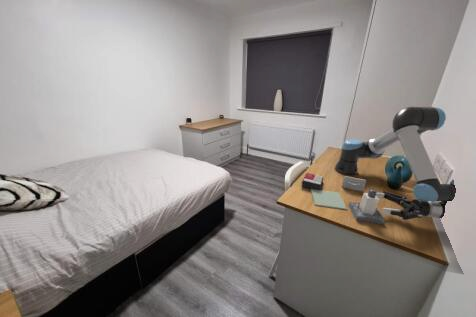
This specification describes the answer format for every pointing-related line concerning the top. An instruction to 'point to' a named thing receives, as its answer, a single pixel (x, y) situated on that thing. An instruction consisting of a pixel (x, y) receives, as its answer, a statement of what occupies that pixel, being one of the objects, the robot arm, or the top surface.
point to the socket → (366, 217)
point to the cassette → (358, 186)
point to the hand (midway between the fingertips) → (375, 201)
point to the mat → (328, 199)
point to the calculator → (312, 181)
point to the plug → (369, 202)
